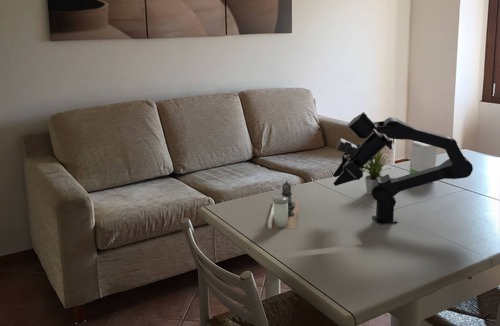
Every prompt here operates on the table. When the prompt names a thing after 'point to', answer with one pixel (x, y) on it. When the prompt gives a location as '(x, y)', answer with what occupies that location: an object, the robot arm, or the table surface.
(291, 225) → the shelf board
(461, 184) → the table surface
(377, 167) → the house plant
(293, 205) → the grey chess piece
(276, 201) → the sage ceramic jar
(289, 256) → the table surface
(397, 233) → the table surface
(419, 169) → the skincare box
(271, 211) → the rail
